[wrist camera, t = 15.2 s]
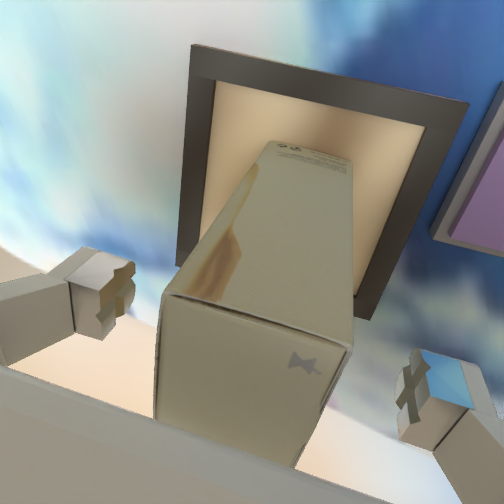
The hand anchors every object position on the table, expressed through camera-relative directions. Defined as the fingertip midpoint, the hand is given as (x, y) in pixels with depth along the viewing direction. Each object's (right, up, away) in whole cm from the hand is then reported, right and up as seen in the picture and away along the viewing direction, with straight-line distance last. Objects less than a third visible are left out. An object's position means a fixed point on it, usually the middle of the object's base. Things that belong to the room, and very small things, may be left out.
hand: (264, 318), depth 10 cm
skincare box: (+2, +4, +9) cm, 10 cm away
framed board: (+2, +5, +9) cm, 10 cm away
